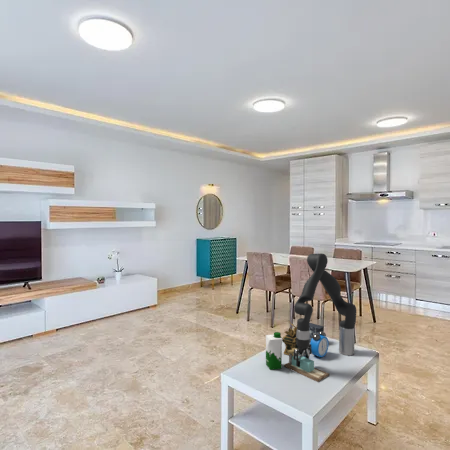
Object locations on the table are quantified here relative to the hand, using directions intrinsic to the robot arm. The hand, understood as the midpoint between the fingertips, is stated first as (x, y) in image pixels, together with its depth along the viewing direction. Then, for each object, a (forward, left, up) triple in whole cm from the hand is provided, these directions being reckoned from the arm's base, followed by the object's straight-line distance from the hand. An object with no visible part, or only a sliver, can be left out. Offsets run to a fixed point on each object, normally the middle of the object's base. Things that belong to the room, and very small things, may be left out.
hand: (302, 364), depth 185 cm
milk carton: (+11, -13, -3) cm, 17 cm away
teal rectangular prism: (0, 0, -2) cm, 2 cm away
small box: (-40, -20, -3) cm, 45 cm away
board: (0, +2, -3) cm, 4 cm away
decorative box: (-13, -18, -3) cm, 23 cm away
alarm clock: (-23, -4, -3) cm, 24 cm away
